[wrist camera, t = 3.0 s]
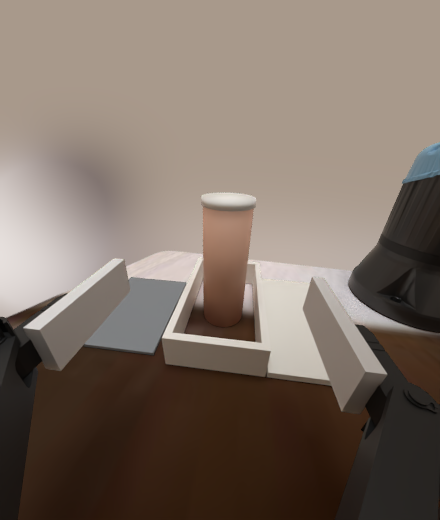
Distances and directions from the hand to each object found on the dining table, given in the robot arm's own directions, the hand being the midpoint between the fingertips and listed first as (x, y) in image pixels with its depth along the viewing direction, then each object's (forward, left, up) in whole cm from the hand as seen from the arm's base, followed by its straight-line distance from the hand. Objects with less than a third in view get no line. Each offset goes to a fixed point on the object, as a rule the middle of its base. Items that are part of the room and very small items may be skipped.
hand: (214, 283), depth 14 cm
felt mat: (+12, -9, -12) cm, 19 cm away
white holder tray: (-5, -10, -12) cm, 17 cm away
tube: (0, -10, -12) cm, 16 cm away
